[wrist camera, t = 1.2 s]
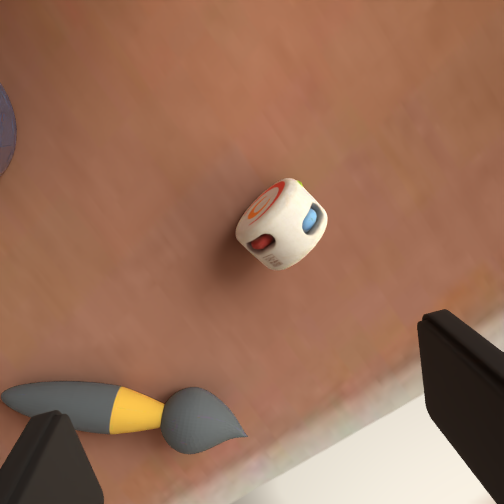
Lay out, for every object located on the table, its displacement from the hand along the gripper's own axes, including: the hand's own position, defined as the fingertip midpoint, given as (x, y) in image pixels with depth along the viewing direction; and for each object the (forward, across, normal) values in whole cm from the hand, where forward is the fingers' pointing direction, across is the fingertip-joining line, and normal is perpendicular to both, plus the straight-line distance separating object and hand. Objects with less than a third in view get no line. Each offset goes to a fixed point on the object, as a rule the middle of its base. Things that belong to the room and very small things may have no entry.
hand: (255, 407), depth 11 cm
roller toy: (+22, -4, 0) cm, 22 cm away
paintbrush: (+22, +11, +13) cm, 28 cm away
